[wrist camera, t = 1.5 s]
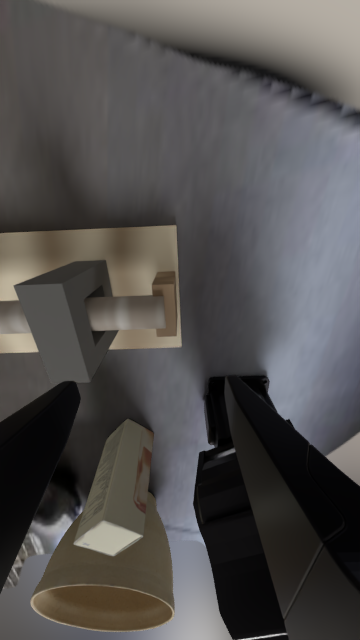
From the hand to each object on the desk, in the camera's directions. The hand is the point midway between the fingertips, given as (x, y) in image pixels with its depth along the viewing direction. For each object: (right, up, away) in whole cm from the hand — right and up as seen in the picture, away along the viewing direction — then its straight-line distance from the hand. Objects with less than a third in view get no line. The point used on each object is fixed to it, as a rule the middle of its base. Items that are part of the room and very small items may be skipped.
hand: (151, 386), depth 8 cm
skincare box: (-5, -12, +19) cm, 23 cm away
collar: (-6, +5, +11) cm, 13 cm away
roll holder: (-10, +5, +11) cm, 16 cm away
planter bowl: (-8, -26, +26) cm, 37 cm away
